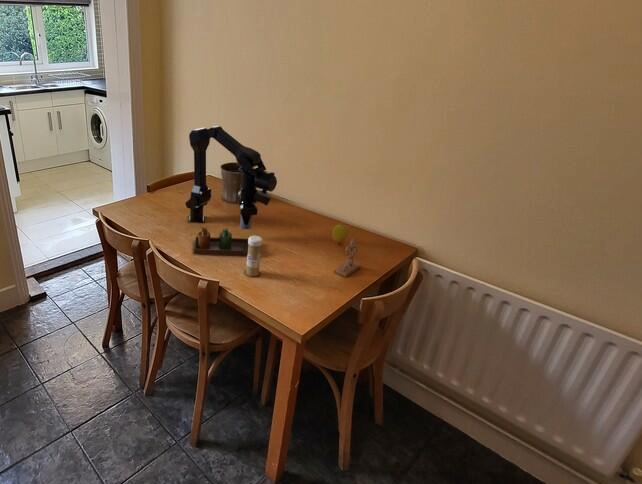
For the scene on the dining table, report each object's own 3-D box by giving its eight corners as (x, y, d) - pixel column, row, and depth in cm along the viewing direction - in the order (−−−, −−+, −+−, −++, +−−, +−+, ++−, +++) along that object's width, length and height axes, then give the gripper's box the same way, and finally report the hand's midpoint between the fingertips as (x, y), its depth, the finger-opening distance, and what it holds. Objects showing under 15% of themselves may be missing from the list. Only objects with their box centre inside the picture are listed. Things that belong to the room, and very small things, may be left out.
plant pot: (254, 204, 195) (257, 172, 188) (220, 204, 195) (221, 172, 188) (249, 192, 209) (251, 162, 202) (217, 192, 210) (218, 162, 203)
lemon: (345, 240, 161) (349, 222, 157) (346, 247, 156) (349, 228, 153) (330, 238, 162) (334, 220, 159) (330, 245, 158) (334, 226, 154)
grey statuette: (348, 263, 145) (354, 233, 140) (359, 267, 142) (365, 237, 137) (335, 272, 140) (341, 241, 135) (346, 277, 137) (352, 245, 132)
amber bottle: (198, 243, 158) (198, 226, 155) (210, 243, 158) (210, 226, 155) (197, 249, 154) (198, 231, 151) (209, 249, 154) (210, 231, 151)
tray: (195, 241, 161) (195, 236, 160) (254, 243, 159) (255, 238, 158) (193, 253, 152) (193, 249, 151) (257, 256, 150) (257, 251, 149)
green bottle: (219, 244, 158) (219, 226, 155) (231, 244, 157) (232, 227, 154) (219, 249, 154) (219, 232, 150) (231, 250, 153) (232, 232, 150)
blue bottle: (239, 224, 164) (240, 206, 161) (250, 224, 164) (252, 206, 160) (240, 229, 160) (241, 210, 157) (251, 229, 160) (253, 210, 157)
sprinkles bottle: (243, 273, 139) (245, 238, 134) (250, 268, 143) (253, 233, 137) (255, 278, 137) (258, 242, 131) (261, 272, 140) (265, 237, 134)
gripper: (273, 194, 145) (269, 233, 152) (267, 177, 162) (264, 213, 169) (241, 193, 146) (239, 232, 153) (239, 176, 163) (236, 212, 170)
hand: (245, 222), depth 161 cm, fingers closed on blue bottle, 4 cm apart
